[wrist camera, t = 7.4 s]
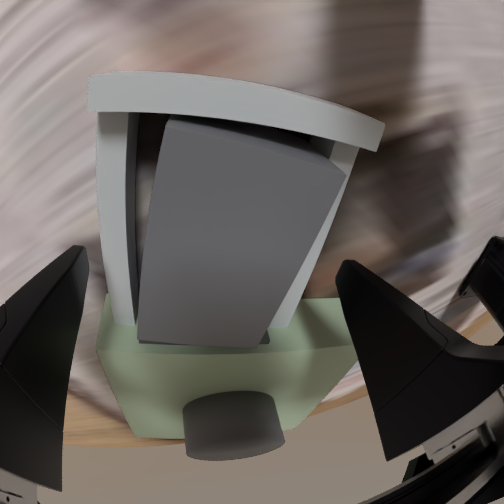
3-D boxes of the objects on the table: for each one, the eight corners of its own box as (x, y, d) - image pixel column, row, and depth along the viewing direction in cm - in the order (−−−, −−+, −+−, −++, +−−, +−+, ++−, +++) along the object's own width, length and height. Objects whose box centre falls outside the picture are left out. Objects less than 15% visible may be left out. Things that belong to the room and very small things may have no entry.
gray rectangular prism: (300, 136, 11) (347, 174, 8) (241, 284, 15) (256, 348, 12) (175, 104, 9) (165, 126, 6) (144, 272, 13) (137, 339, 10)
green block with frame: (422, 136, 11) (526, 205, 6) (284, 397, 25) (302, 456, 20) (98, 71, 7) (-17, 101, 2) (135, 401, 21) (137, 468, 16)
